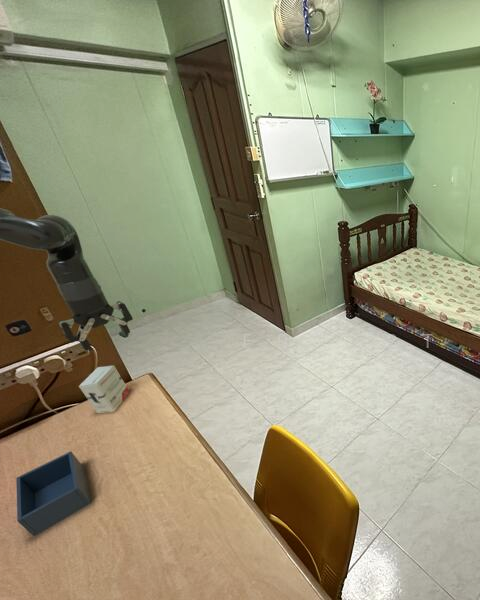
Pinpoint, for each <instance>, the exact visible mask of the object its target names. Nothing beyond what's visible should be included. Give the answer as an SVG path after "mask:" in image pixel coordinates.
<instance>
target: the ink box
mask: <svg viewBox="0 0 480 600" xmlns="http://www.w3.org/2000/svg"><path fill="white" fill-rule="evenodd" d="M78 388H79V389H80V390H81V392H82V393H83V395H84V396H85V398H86V399H87V401H88V402H89V404H90V405H91V406H92V408H93V410H94V411H95V412H96V414H103V413H104V414H105V413H114V412H115V411H116V410H117V409H118V407H119V406H120V405H121V404H122V402H123V401H124V400H125V399H126V398H127V396H128V395H129V394H130V390H129V388H128V386H127V384H126V383H125V381H124V379H123V378H122V376H121V375H120V373H119V371H118V369H117V368H116V366H115V365H106V366H105V365H104V366H98V367H96V368H95V369H94V370H93V371H92V373H90V374H89V375H88V376H87V377H86V378H85V379H84V380H83V381H82V382H81V383H80V384H79V385H78Z"/></svg>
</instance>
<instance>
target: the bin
mask: <svg viewBox="0 0 480 600" xmlns="http://www.w3.org/2000/svg"><path fill="white" fill-rule="evenodd" d="M90 504H92V502H91V495H90V492H89V487H88V483H87V479H86V474H85V469H84V466H83V464H82V463H81V462H80V460H79V459H78V458H77V457H76V456H75V454H74V453H73V451H68V452H65V453H64V454H62V455H60V456H58V457H56V458H54V459H52V460H50V461H47V462H46V463H44V464H41V465H40V466H37V467H35V468H34V469H32V470H29V471H27V472H25V473H24V474H21V475H19V476H17V477H16V520H17V523H18V524H20V525H21V526H22V527H23V528H24V529H25V530H26V531H27V532H28V533H30V534H31V535H32V536H33V537H36V536H38V535H39V534H41V533H43V532H45V531H46V530H48V529H49V528H51V527H53V526H55V525H56V524H58V523H60V522H61V521H63V520H65V519H66V518H68V517H70V516H72V515H74V514H75V513H77V512H78V511H80V510H81V509H84V508H86V507H87V506H89V505H90Z"/></svg>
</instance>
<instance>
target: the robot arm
mask: <svg viewBox="0 0 480 600" xmlns="http://www.w3.org/2000/svg"><path fill="white" fill-rule="evenodd" d="M0 240H1V241H4V242H7V243H9V244H13V245H17V246H19V247H20V246H21V247H24V248H28V249H32V250H38V251H46V253H47V260H46V263H45V264H46V267H47V270H48V272H49V273H50V275H51V276H52V279H53V280H54V282H55V284H56V287H57V289H58V291H59V293H60V295H61V297H62V298H63V300H64V302H65V304H66V306H67V307H68V309H69V310H70V313H71V314H72V318H69V319H67V320H63V319H61V320H59V321H58V326H59V327H60V330H61V331H62V333H63V335H64V337H65V339H66V340H67V341H68V342H69V343H71V344H73V343H75V342H79V344H80V346H81V347H82V349H84V350H85V351H88V352H92V351H94V350H93V347H92V345H91V344H90V342H89V340H88V339H87V337H88V335H89V333H90V331H91V329H96V328H99V327H100V326H103V325H107V324H108V323H109V322H112V323H115V324H118V326H119V329H120V331H121V333H122V334H123V335H124V336H125V337H129V336H130V333H131V330H130V328H129V326H128V322H132V321H133V319H134V318H133V316H132V314H131V312H130V311H129V309H128V307H127V306H126V304H125V303H124V302H122V301H121V300H118V301H116V302H115V304H112V305H111V304H109V302H108V299H107V298H106V296H105V294H104V291H103V290H102V286H101V285H100V283H99V282H98V280H97V279H96V277H95V276H94V274H93V273H92V270H91V269H90V267H89V265H88V262H87V261H86V259H85V257H84V254H83V248H82V244H81V241H80V240H81V239H80V237H79V234H78V231H77V230H76V229H75V227H74V225H73V224H72V223H71V222H70V221H69V220H67V219H66V218H64V217H62V216H59V215H55V214H46V215H41V216H40V217H38V218H36V219H30V218H24V217H20V216H17V215H15V214H14V213H13V212H12V211H10V210H8V209H4V208H1V207H0ZM115 310H116V311H118V312H120V313H121V314H122V317H119V316H118V317H117V316H115V315H113V313H114V311H115ZM74 324H77V325H79V327H78V330H77V333H76V334H75V335H74V334H73V332H72V328H73V327H74V326H73V325H74Z"/></svg>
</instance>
